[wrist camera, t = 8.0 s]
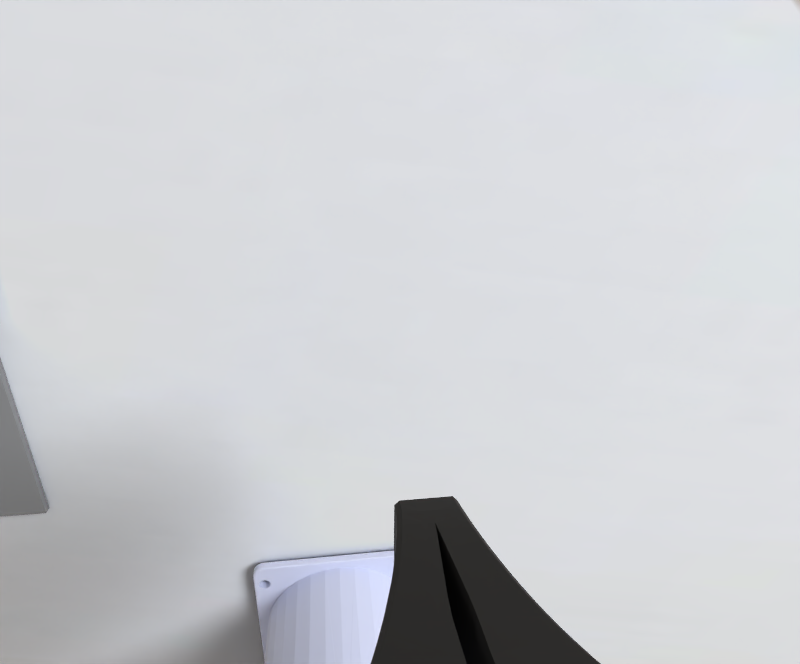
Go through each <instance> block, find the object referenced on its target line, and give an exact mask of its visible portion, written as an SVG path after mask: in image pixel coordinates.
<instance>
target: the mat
mask: <svg viewBox="0 0 800 664" xmlns="http://www.w3.org/2000/svg"><path fill="white" fill-rule="evenodd" d="M48 509H49V506H48V503H47V500H46V497H45V494H44V491H43V487H42V484H41V481H40V478H39V475H38V472H37V469H36V466H35V463H34V460H33V457H32V454H31V451H30V448H29V445H28V442H27V439H26V435H25V432H24V429H23V426H22V423H21V420H20V417H19V414H18V411H17V408H16V405H15V402H14V399H13V396H12V393H11V390H10V387H9V384H8V380H7V377H6V374H5V371H4V368H3V365H2V362H1V359H0V516H13V515H25V514H38V513H46V512H47V510H48Z"/></svg>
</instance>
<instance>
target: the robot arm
mask: <svg viewBox="0 0 800 664" xmlns="http://www.w3.org/2000/svg"><path fill="white" fill-rule="evenodd" d="M264 580H267V581H266V582H265V581H264ZM253 581H254V588H255V595H256V602H257V610H258V617H259V624H260V631H261V639H262V646H263V653H264V660H265V662H264V664H600V663H599V662H598V661H597V660H595V659H594V658H593V657H592V656H591V655H590V654H589V653H588V652H587V651H585V650H584V649H583V648H582V647H581V646H580V645H579V644H578V643H577V642H576V641H574V640H573V639H572V638H571V637H570V636H569V635H568V634H567V633H566V632H565V631H564V630H563V629H562V628H561V627H560V626H559V625H558V624H557V623H556V622H555V621H554V620H553V619H552V618H551V617H550V616H549V615H548V614H547V613H546V612H545V611H544V610H543V609H542V608H541V607H540V606H539V605H538V604H537V603H536V602H535V600H534V599H533V598H532V597H531V596H530V595H529V594H528V593H527V592H526V590H525V589H524V588H523V587H522V586H521V585H520V584H519V583H518V581H517V580H516V579H515V578H514V577H513V576H512V574H511V573H510V572H509V571H508V570H507V568H506V567H505V566H504V565H503V563H502V562H501V561H500V560H499V558H498V557H497V556H496V555H495V553H494V552H493V551H492V550H491V548H490V547H489V546H488V544H487V543H486V542H485V540H484V539H483V538H482V536H481V535H480V533H479V532H478V531H477V529H476V528H475V527H474V525H473V524H472V522H471V521H470V519H469V518H468V516H467V515H466V513H465V512H464V510H463V509H462V507H461V506H460V504H459V503H458V501H457V500H456V499H455V498H454V497H453V496H451V497H439V498H427V499H414V500H402V501H399V502H398V503H396V504H395V509H394V551H383V552H372V553H362V554H351V555H341V556H330V557H320V558H309V559H298V560H288V561H277V562H267V563H261V564H258V565H257V566H256V567H255V568H254V573H253Z"/></svg>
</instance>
